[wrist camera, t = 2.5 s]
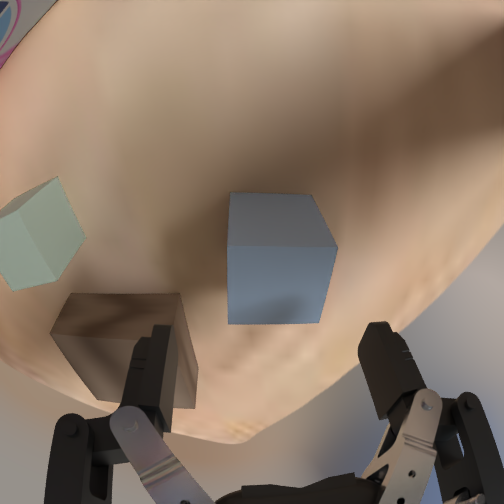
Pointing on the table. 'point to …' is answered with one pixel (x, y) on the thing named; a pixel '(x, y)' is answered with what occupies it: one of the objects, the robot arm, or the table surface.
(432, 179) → the table surface
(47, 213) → the sage cube
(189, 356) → the walnut block
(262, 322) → the blue block
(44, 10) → the gum box
